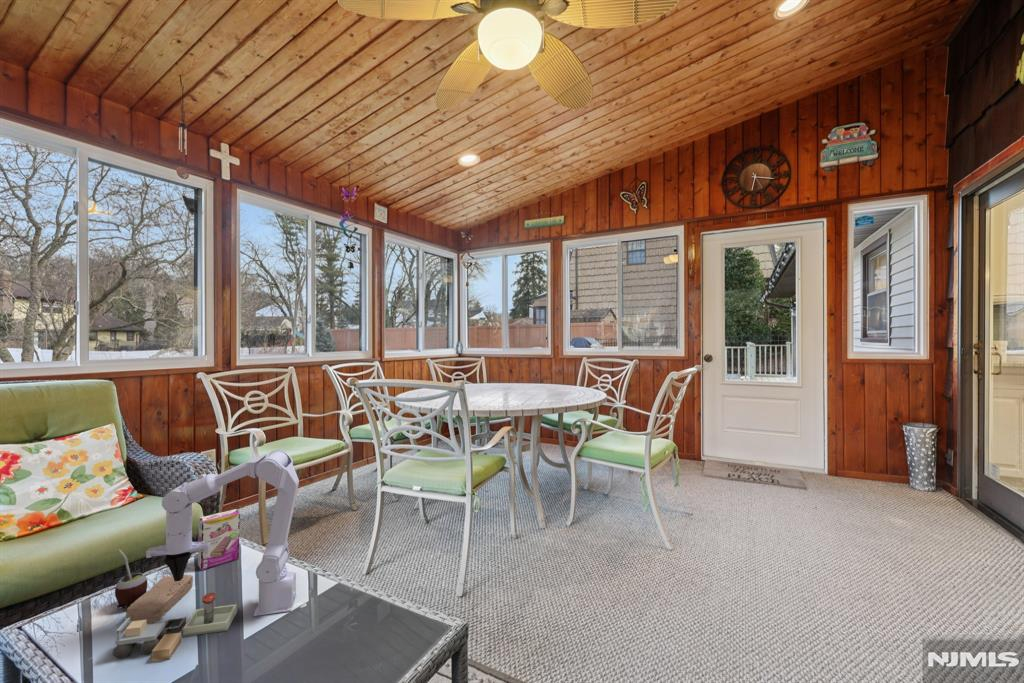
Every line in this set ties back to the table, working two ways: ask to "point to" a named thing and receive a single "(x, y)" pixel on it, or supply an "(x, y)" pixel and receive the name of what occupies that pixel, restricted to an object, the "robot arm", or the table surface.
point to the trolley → (137, 637)
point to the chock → (166, 647)
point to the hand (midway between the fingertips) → (178, 579)
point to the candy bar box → (219, 538)
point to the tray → (220, 623)
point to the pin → (208, 607)
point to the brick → (159, 599)
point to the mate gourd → (130, 587)
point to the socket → (175, 622)
